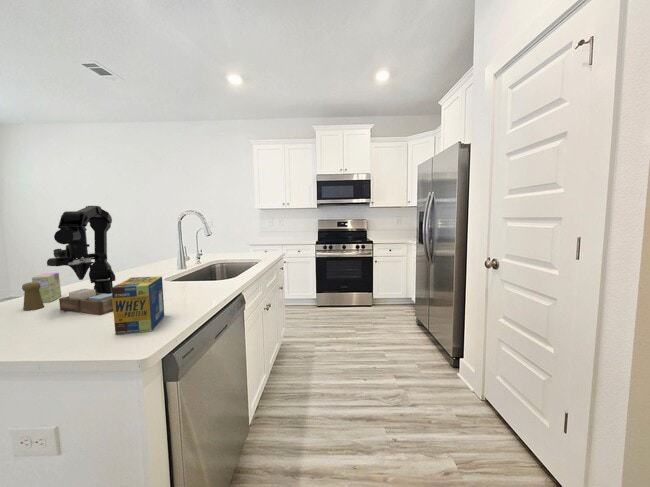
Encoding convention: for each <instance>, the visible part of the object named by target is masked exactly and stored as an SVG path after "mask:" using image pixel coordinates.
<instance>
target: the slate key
mask: <svg viewBox="0 0 650 487" xmlns="http://www.w3.org/2000/svg"><path fill="white" fill-rule="evenodd" d="M111 298H112V293H111V294H101V295H97V296H93V297H89V300H91V301H104V300H107V299H111Z"/></svg>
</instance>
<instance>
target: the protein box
mask: <svg viewBox="0 0 650 487" xmlns="http://www.w3.org/2000/svg"><path fill="white" fill-rule="evenodd" d="M163 285H164V284H163V276H141V277H140V276H137V277H130V278H128V279H126V280H124V281H122V282H120V283H118V284H116V285H114V286H113V287H112V293H111V294H112V300H113V311H112V312H113V321H114V333H115V334H114V335H122V334H132V333H133V334H135V333H142V332H143V333H145V332H152V331H153V330H154V328H155V327H156V326H157V325H158V324H159V323H160V322H161V321H162V320H163V318H164V317H165V305H164V304H165V303H164V302H165V300H164V288H163V287H164V286H163ZM157 323H158V324H157Z"/></svg>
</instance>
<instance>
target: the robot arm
mask: <svg viewBox="0 0 650 487" xmlns="http://www.w3.org/2000/svg"><path fill="white" fill-rule="evenodd" d="M88 223H89V227H90V228H91V230H92V231H93V232H94V236H93V237H94V239H93V240H94V253H89V250H88V247H91V246H90V243H89V244H88V240H87V232H86V231H87V230H88V228H86V227H87V226H88ZM112 223H113V217H112V216H111V214H110V213H109V212H108V211H107V210H105V209H102V206H100V205H86V206H85V207H83V208H80V209H79V210H75V211H73V210H72V211H71V210H70V211H66V210H65V211H64V212H63V213H62V215H60V219H59V223H58V227H57V228H58V229H59V230H56V231H55V233H54V235H53V239H54V241H56V243H57V244H60V245H65V249H62V248H55V249H53V257H50V258H47V261H46V264H47V265H46V266H47V267H63V266H68V267H70V268H71V269H72V270H73V272H74V273H75V275H76V277H77V278H78V280H79V281H83V280H84V278H85V277H86V274H87V272H88V270H89V272H88V277H89V281H90V283H91V284H94V286H93V289H95V292H96V293H104V294H112V287H114V286H113V285H114V284H113V282H115V281H116V275H115V273H114V271H113V270H112V265H111V264H110V263H109V262H108V244H107V243H108V241H107V240H108V238H107V236H108V235H107V234H108V231H109V230H110V229H111V226H112ZM93 260H94V261H93Z"/></svg>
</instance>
